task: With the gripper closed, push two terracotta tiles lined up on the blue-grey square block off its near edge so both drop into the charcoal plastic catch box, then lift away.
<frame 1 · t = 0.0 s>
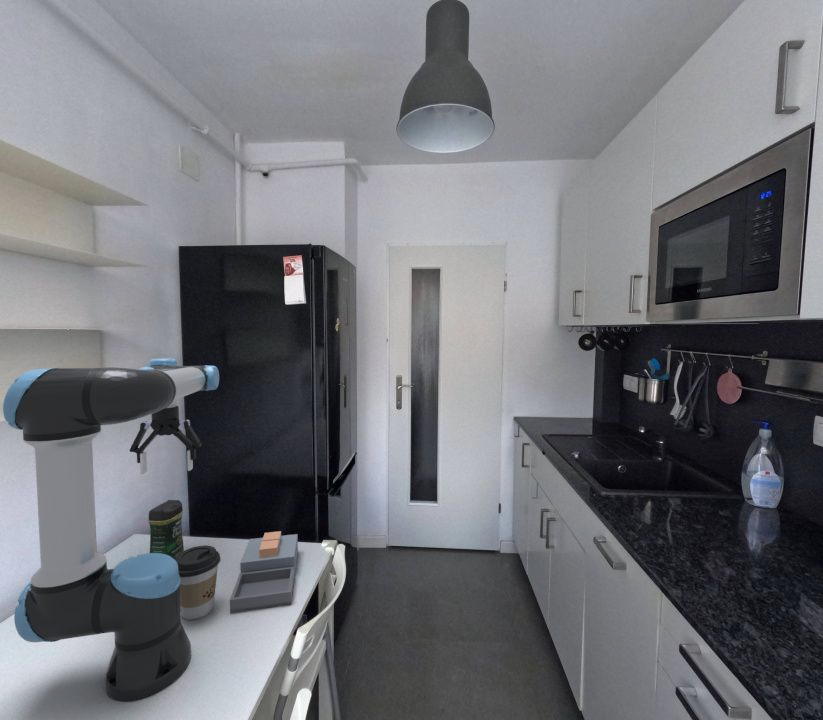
hand: (167, 471, 128), 28 cm above the table, fingers open, 13 cm apart
tile rear: (271, 543, 124), point 6 cm above the table, touching blue-grey square block
tile front: (269, 552, 119), point 6 cm above the table, touching blue-grey square block
coffee cup: (197, 611, 102), on the table
blue-grey square block: (271, 566, 122), on the table
catch box: (264, 594, 108), on the table
coffee jar: (167, 561, 126), on the table
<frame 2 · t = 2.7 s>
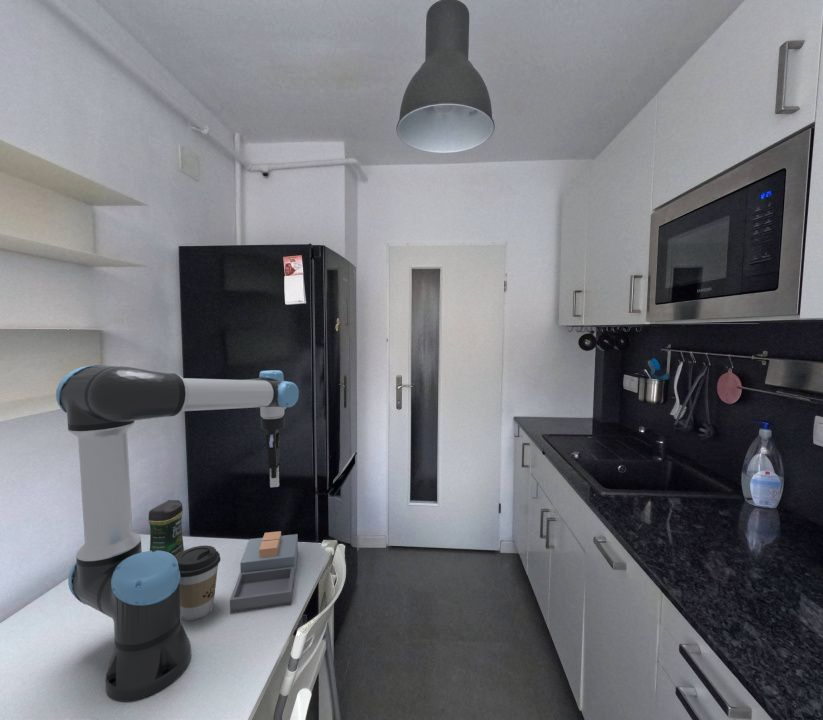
hand: (274, 486, 132), 21 cm above the table, fingers closed
nothing on the table moved.
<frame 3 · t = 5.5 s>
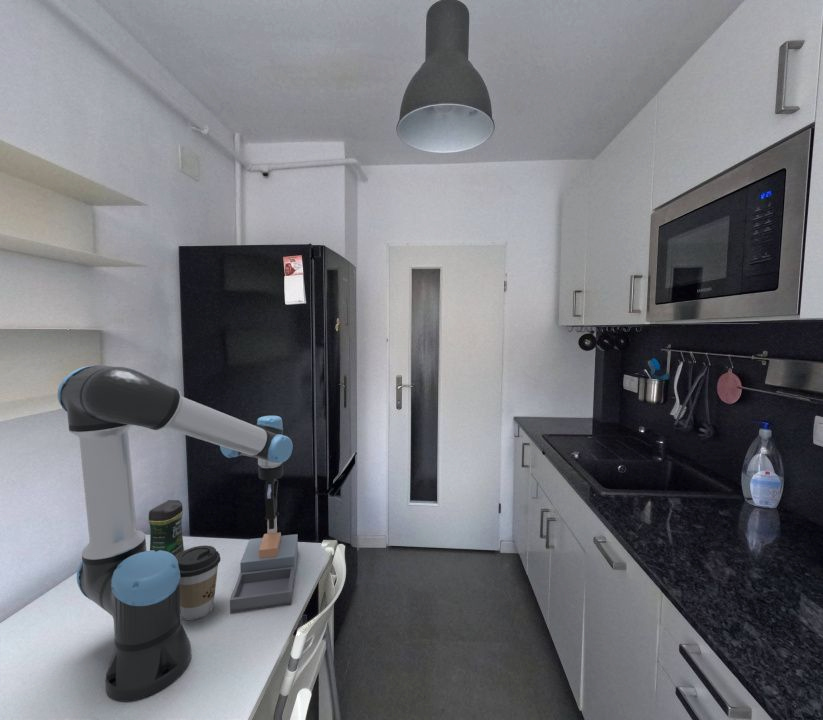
hand: (272, 536, 127), 7 cm above the table, fingers closed
tile rear: (271, 544, 124), point 6 cm above the table, touching tile front
tile front: (269, 553, 119), point 6 cm above the table, touching tile rear
everything else where it was.
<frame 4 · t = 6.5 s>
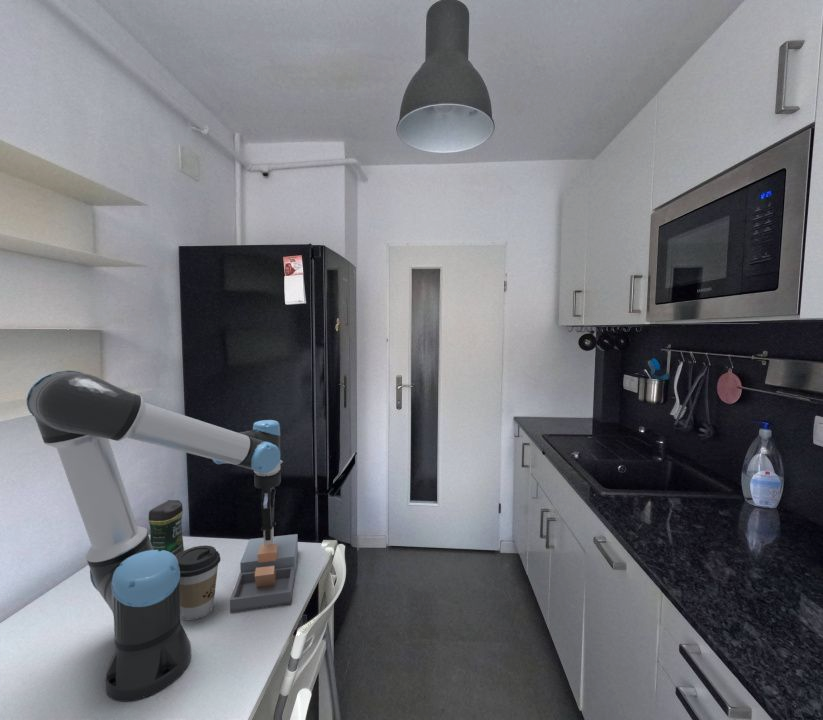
hand: (268, 548, 119), 7 cm above the table, fingers closed
tile rear: (268, 557, 116), point 6 cm above the table, touching gripper
tile front: (266, 572, 112), point 4 cm above the table, tilted 116°, touching catch box
everything else where it was.
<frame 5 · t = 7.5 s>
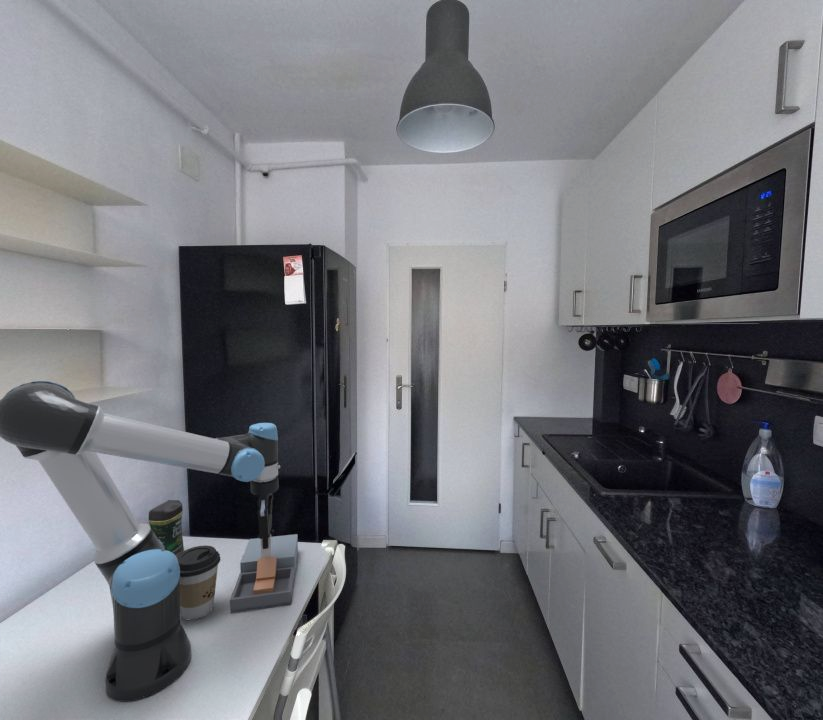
hand: (266, 557, 114), 7 cm above the table, fingers closed
tile rear: (267, 569, 113), point 4 cm above the table, tilted 52°, touching gripper, tile front
tile front: (264, 583, 108), point 3 cm above the table, tilted 180°, touching catch box, tile rear
everything else where it was.
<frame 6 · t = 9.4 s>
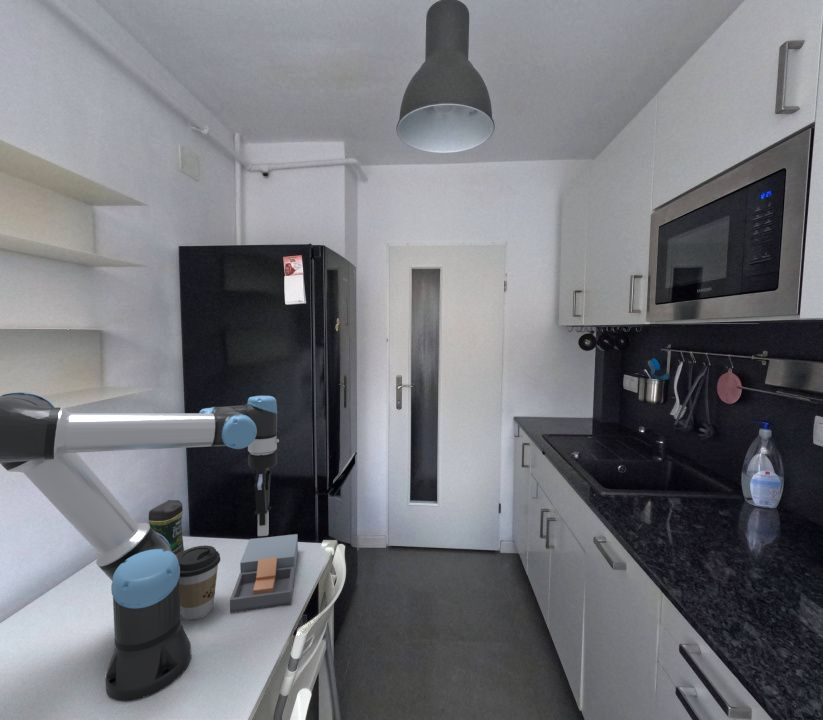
hand: (263, 534, 110), 16 cm above the table, fingers closed
tile rear: (267, 570, 113), point 4 cm above the table, tilted 37°, touching blue-grey square block, tile front
everything else where it was.
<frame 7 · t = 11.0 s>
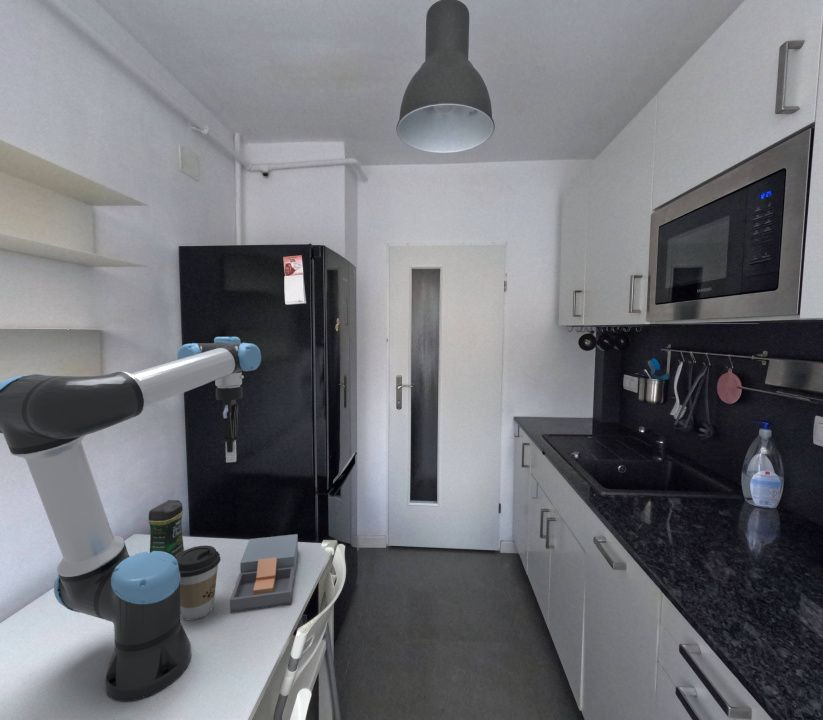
hand: (231, 461, 123), 32 cm above the table, fingers closed
nothing on the table moved.
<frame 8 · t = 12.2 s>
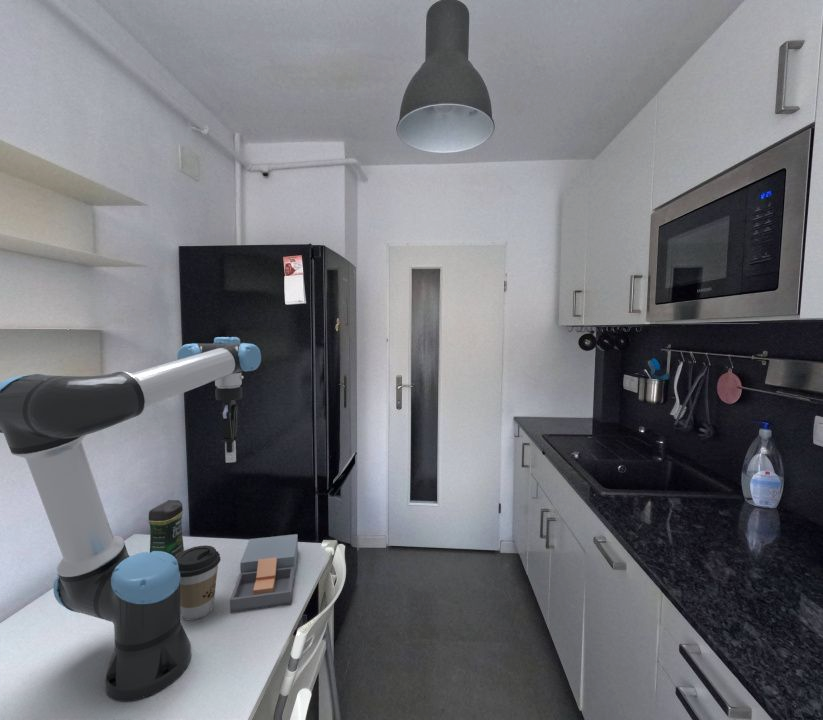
hand: (230, 461, 123), 32 cm above the table, fingers closed
nothing on the table moved.
at the end: tile front inside the target area on the catch box (0.3 cm from its centre), point 3.3 cm above the catch box's base; tile rear inside the target area on the catch box (5.0 cm from its centre), point 3.7 cm above the catch box's base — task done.
